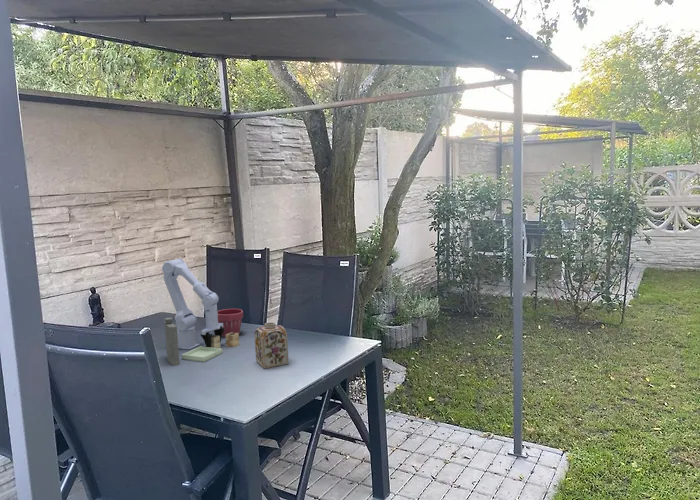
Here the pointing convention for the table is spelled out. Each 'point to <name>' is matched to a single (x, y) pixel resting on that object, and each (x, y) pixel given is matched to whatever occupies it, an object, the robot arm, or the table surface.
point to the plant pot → (230, 320)
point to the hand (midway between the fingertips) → (213, 345)
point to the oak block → (232, 339)
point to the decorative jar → (271, 345)
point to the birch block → (215, 341)
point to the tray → (202, 354)
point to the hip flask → (171, 341)
